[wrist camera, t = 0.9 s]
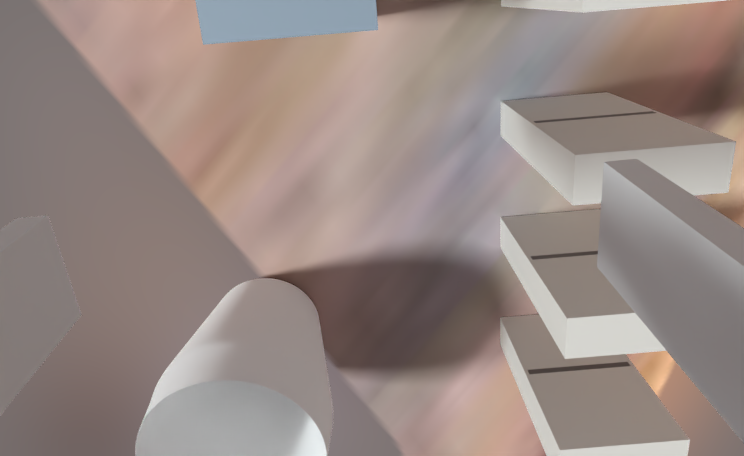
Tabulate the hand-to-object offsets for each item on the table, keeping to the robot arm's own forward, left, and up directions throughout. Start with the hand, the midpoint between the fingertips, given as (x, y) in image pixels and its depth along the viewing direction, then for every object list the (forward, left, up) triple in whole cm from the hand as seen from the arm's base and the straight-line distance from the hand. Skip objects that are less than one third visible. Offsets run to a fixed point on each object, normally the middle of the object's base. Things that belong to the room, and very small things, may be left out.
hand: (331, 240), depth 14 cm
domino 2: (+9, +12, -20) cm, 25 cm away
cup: (+14, -6, -20) cm, 25 cm away
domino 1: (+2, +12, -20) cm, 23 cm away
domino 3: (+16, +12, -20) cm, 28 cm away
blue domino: (-5, -1, -20) cm, 21 cm away
